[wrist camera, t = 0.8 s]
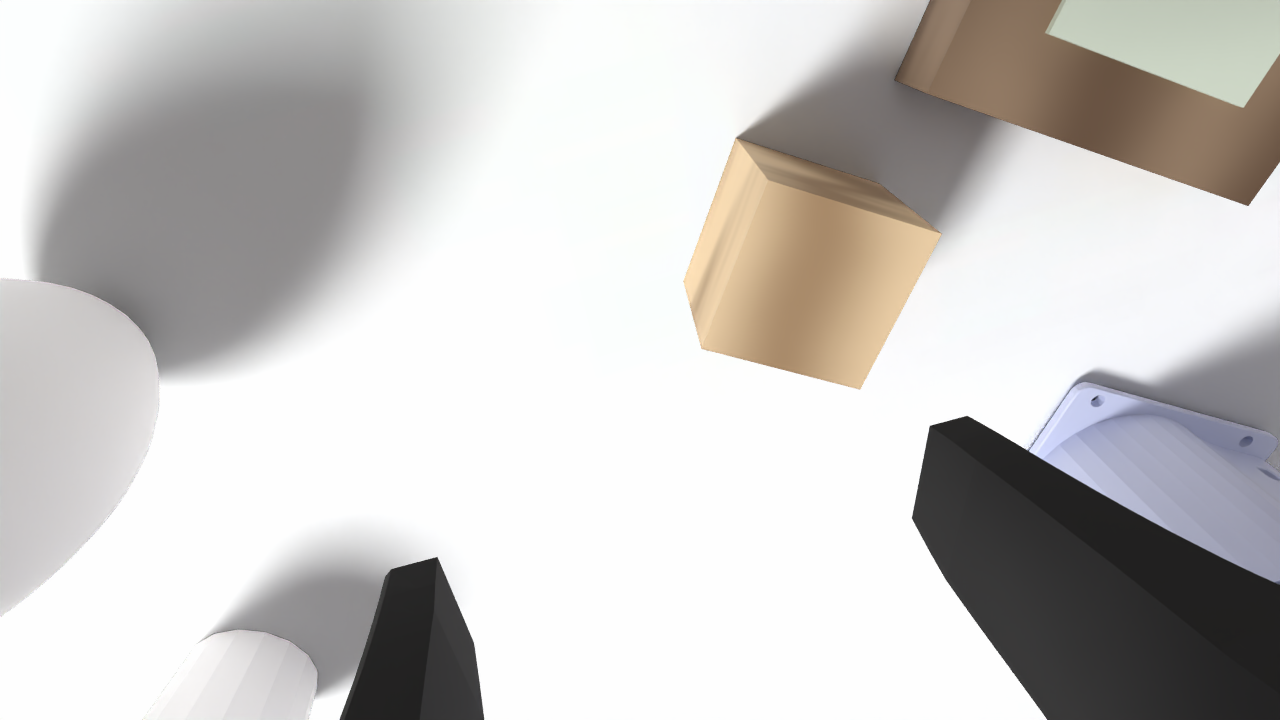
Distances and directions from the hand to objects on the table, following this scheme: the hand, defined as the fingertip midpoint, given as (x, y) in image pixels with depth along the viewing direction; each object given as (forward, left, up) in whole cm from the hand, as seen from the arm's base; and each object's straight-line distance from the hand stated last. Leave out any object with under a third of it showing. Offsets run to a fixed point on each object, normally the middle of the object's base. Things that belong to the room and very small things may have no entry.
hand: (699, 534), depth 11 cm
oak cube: (-5, -1, -15) cm, 16 cm away
